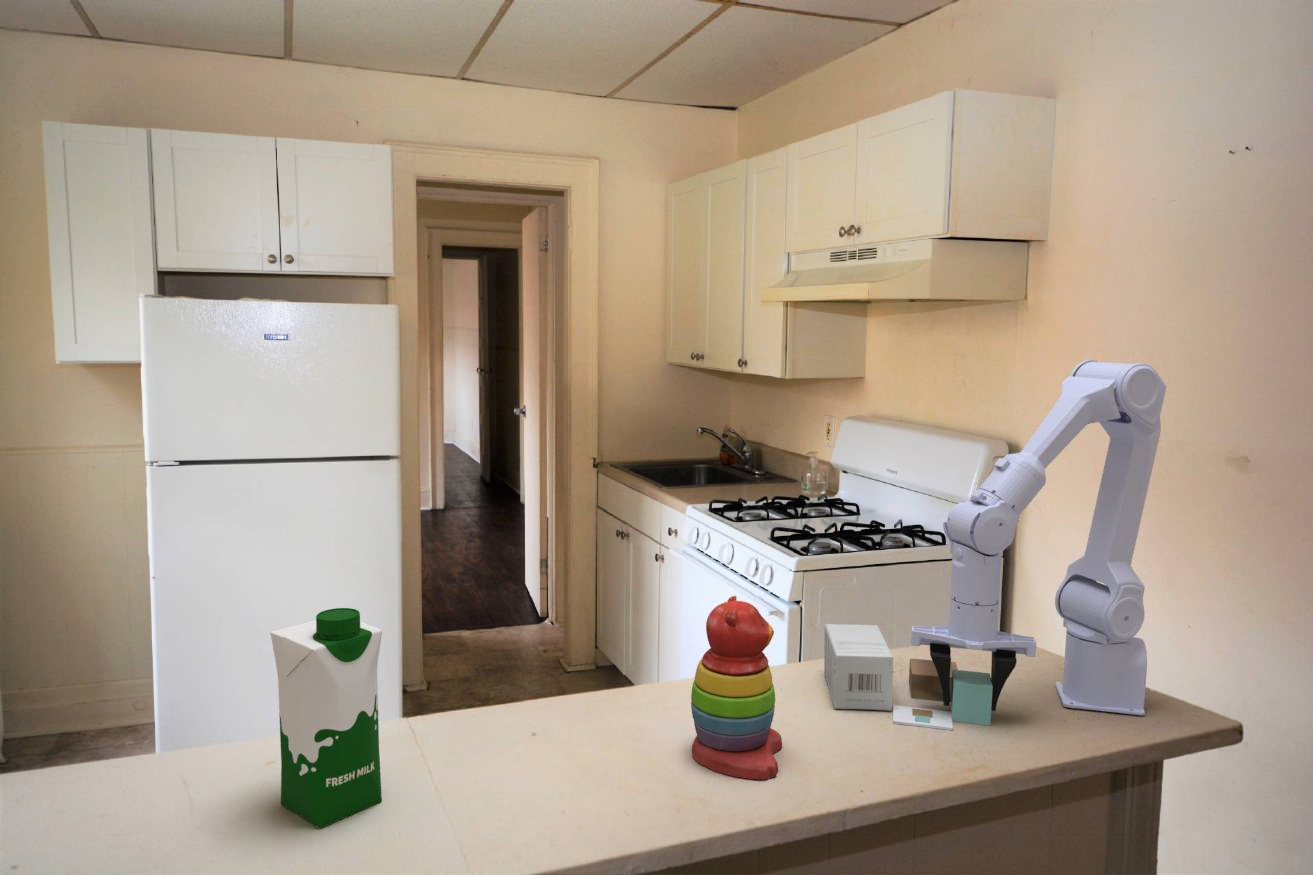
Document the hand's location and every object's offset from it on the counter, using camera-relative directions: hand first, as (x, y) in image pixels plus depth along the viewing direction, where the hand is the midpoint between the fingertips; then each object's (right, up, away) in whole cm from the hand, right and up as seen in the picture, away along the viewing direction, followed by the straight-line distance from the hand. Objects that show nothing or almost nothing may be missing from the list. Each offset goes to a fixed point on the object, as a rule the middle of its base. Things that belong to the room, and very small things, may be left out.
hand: (968, 705), depth 118 cm
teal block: (0, -1, 0) cm, 1 cm away
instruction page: (-6, -1, -1) cm, 6 cm away
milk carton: (-72, -4, -23) cm, 75 cm away
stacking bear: (-30, -3, -11) cm, 32 cm away
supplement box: (-13, +2, +1) cm, 13 cm away
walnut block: (-2, -1, +8) cm, 8 cm away
